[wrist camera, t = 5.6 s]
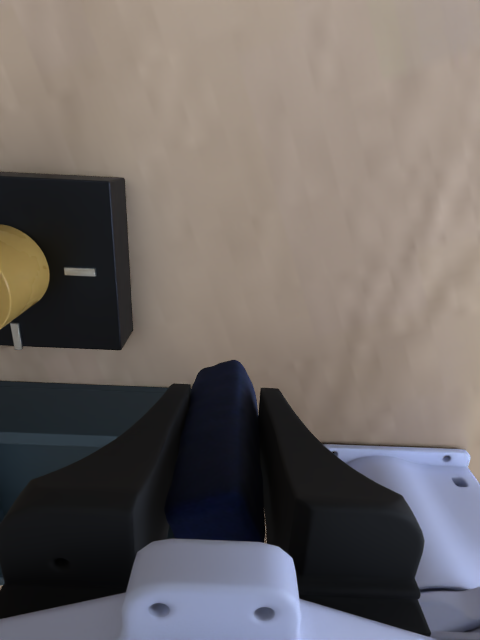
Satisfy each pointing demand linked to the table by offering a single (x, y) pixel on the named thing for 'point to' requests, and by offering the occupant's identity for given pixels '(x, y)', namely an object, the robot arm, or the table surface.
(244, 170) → the table surface
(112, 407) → the dark teal open box
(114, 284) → the block
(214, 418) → the eraser
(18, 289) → the tap knob
